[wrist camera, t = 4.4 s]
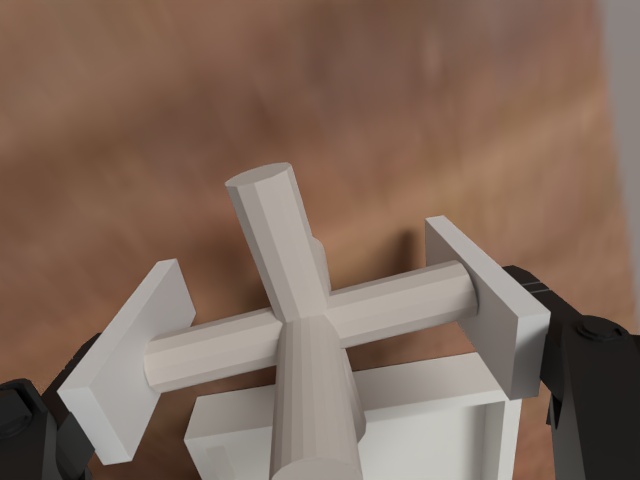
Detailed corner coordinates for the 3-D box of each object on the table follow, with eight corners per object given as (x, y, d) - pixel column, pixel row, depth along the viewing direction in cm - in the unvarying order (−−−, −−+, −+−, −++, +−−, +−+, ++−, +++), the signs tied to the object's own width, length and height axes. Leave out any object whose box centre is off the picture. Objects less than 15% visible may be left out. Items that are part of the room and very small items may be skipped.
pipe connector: (427, 315, 18) (569, 565, 8) (237, 362, 18) (176, 647, 9) (395, 109, 13) (603, 163, 4) (150, 177, 14) (-127, 355, 5)
